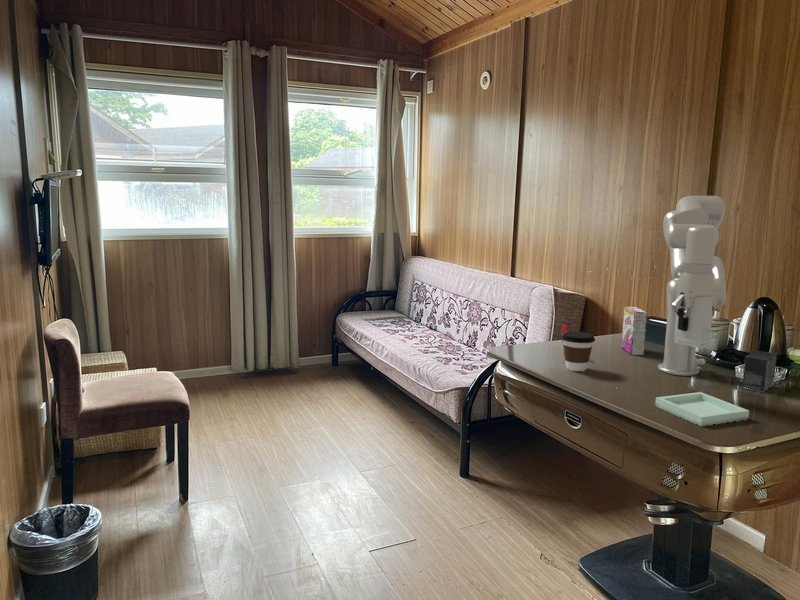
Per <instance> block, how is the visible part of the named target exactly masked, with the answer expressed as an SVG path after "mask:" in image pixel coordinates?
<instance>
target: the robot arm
mask: <svg viewBox="0 0 800 600" xmlns="http://www.w3.org/2000/svg"><path fill="white" fill-rule="evenodd" d="M725 212H726V206H725V202H724V200H723V198H722V197H720V196H718V195H687V196H683V197H681V199H679V200H678V201H677V202H676V206H675V209H674V210H671V211H669V212H667V213H665V215H664V217H663V222H662V225H663V226H662V229H663V236H664V239H665V242H666V244H667V246H668V248H669V252H670V253H669V254H670V255H669V256H670V257H669V258H670V273H671V277H672V279H670V280H669V282H668V283H667V285H666V300H667V301H666V302H667V317H666V329H665V330H666V331H665V338H664V340H665V341H664V351H663V352H664V353H663V362H661V363H659V364H657V369H658V371H661V372H662V373H666V374H670V375H675V376H683V377H684V376H685V377H686V376H687V377H688V376H690V377H691V376H696V375H698V374H699V373H700V370H699V368H698V366H699V365H705V363H706V359H705V358H696V352H697V347H692V346H688V345H682V344H677V343H675V325H676V313H677V316H679V319H678V329H679V330H682V331H687V330H688V320H689V319H688V318H687V316H688V313H689V311H690V309H692V308H693V307H694V304H695V299H696V297H705V296H713V304H712V312H713V311H714V309H719V308H721V307H723V305H725V303H726V300H727V299H726V298H727V290H726V289H727V288H726V287H727V286H726V278H725V268H724V263H723V261H722V259H721V258H720V257H719V256H716V255H715V250H716V245H718V244H719V239H720V232H719V230H718V229H719V228H720V226H721V223H722V221H723V219H724V217H725ZM681 303H682V304H681ZM683 304H685V306H683ZM680 305H681V306H680ZM683 309H685V311H683Z"/></svg>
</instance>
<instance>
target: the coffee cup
mask: <svg viewBox="0 0 800 600" xmlns="http://www.w3.org/2000/svg"><path fill="white" fill-rule="evenodd" d="M562 339H563V342H564V344H563V342H562V345H563V346H562V348H563V355H564V360H565V367H566V369H567V370H568V369H569V370H568V371H570V370H572V371H571V372H575V371H582V372H585V371H586V370H587V368H588V363H589V362H590V357H591V354H592V349H593V343H595V341H596V338H595V336H594V334H592V333H589V332H584V331H570V332H565V333H563V335H561V340H562Z"/></svg>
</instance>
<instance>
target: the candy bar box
mask: <svg viewBox="0 0 800 600" xmlns="http://www.w3.org/2000/svg"><path fill="white" fill-rule="evenodd" d="M622 321H623V322H622V323H623V324H622V334H621V335H622V336H621V337H622V339H621V349H623V350H624V351H626V352H627V353H629V354H630V355H631V356H644V355H645V346H646V332H647V321H648V312H646V311H645V310H643V309H641V308H639V307H637V306H624V307H623V318H622Z"/></svg>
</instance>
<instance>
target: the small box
mask: <svg viewBox="0 0 800 600" xmlns="http://www.w3.org/2000/svg"><path fill="white" fill-rule="evenodd" d="M777 354H778V353H776V352H768V351H761V350H754V351H752V352H750V353H749V354H746V355H745V356H744V366H743V368H744V369H743V376H742V377H743V378H742V384H741V385H742V387H746V388H750V389H755V390H759V391H765V390H767V389H768V388H769V387H770V386H771V385H772V383H773V378H774V379H775V376H774V374H775V373H776V366H777V356H778V355H777ZM742 387H741V388H742ZM768 390H769V389H768ZM768 390H767V391H768Z"/></svg>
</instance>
